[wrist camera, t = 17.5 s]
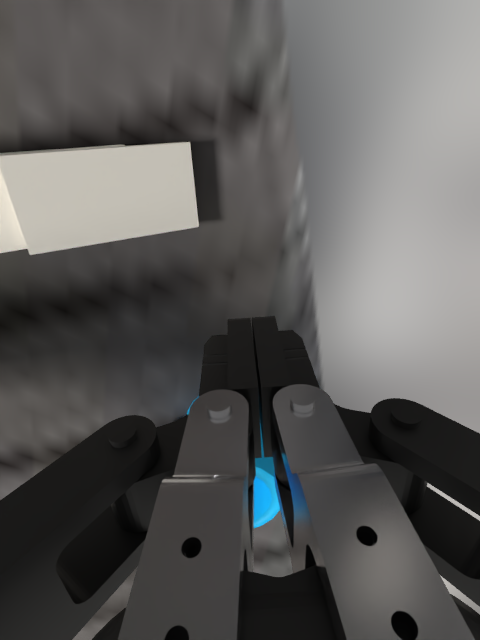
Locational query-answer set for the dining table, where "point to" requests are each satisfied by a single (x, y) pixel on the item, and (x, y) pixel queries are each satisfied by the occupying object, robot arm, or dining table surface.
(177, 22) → the dining table surface
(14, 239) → the domino
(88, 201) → the domino
